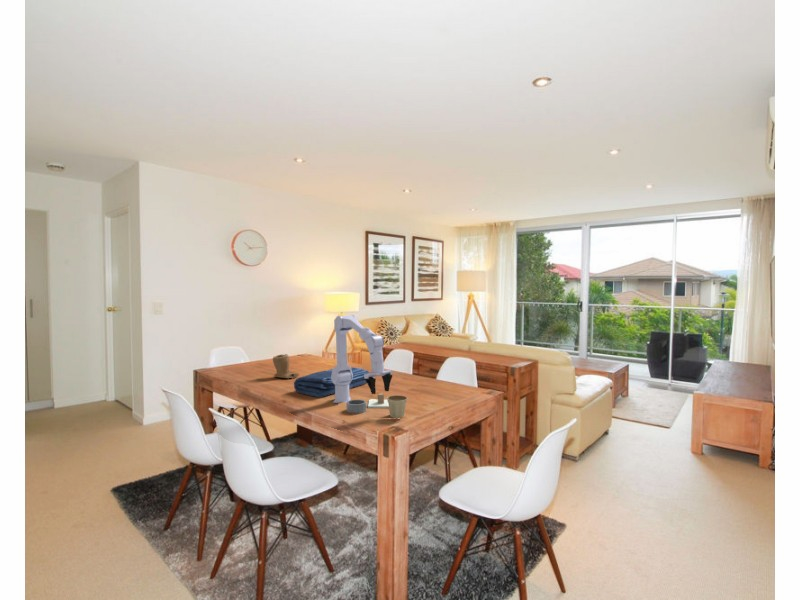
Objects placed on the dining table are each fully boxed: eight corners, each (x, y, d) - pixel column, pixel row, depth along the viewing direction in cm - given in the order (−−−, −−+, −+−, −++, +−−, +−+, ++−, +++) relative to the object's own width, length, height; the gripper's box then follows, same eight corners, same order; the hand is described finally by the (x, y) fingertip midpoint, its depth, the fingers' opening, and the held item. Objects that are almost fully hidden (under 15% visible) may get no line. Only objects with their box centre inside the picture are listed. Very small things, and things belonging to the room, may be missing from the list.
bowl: (347, 408, 201) (347, 399, 201) (366, 408, 201) (366, 399, 201) (345, 414, 192) (345, 404, 192) (365, 414, 192) (365, 404, 192)
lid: (369, 400, 213) (369, 391, 213) (393, 400, 213) (393, 391, 213) (367, 407, 201) (367, 397, 201) (393, 407, 201) (393, 397, 201)
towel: (371, 383, 255) (371, 366, 255) (323, 399, 219) (323, 379, 219) (341, 378, 268) (341, 362, 268) (290, 393, 232) (290, 374, 232)
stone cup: (269, 378, 269) (268, 354, 268) (283, 374, 279) (283, 352, 278) (285, 381, 260) (285, 356, 260) (299, 377, 271) (299, 354, 270)
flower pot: (407, 413, 194) (407, 394, 194) (408, 420, 184) (408, 400, 184) (386, 413, 194) (386, 395, 193) (386, 420, 184) (386, 400, 184)
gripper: (369, 363, 184) (372, 395, 183) (395, 360, 193) (398, 390, 192) (360, 364, 189) (363, 395, 188) (385, 360, 199) (388, 389, 197)
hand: (380, 392), depth 190 cm, fingers open, 7 cm apart
